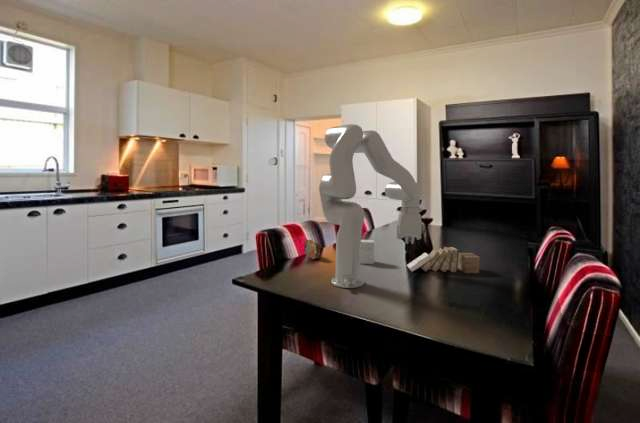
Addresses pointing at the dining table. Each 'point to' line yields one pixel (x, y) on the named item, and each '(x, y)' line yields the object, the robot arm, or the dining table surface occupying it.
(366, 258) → the small box
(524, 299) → the dining table surface
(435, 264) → the domino
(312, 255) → the tin
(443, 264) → the domino
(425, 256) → the domino
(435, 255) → the domino
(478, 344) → the dining table surface
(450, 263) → the domino
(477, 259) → the end block
